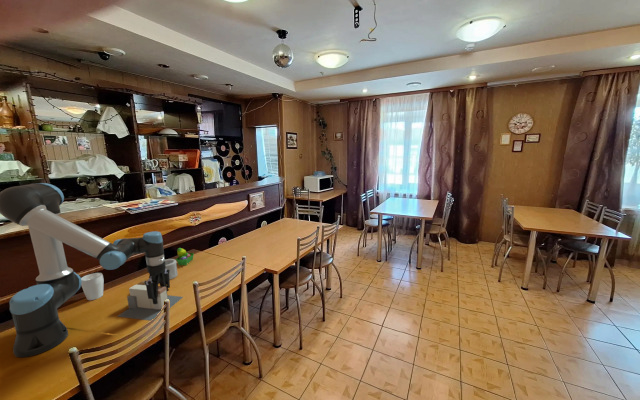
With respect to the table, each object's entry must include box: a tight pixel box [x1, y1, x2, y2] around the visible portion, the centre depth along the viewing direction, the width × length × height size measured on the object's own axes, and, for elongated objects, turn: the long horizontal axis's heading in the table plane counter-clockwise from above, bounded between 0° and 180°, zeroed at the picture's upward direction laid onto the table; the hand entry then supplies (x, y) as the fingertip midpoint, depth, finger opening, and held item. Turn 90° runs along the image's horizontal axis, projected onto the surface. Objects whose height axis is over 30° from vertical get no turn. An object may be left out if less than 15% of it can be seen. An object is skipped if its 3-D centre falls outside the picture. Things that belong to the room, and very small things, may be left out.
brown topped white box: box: [150, 285, 168, 309], centre depth 126 cm, size 4×6×10 cm
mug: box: [164, 258, 178, 280], centre depth 157 cm, size 14×11×10 cm
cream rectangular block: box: [126, 283, 151, 309], centre depth 127 cm, size 6×12×10 cm, turn 81°
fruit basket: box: [175, 247, 195, 266], centre depth 178 cm, size 11×9×11 cm
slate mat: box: [116, 294, 184, 322], centre depth 128 cm, size 20×20×1 cm
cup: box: [80, 272, 105, 301], centre depth 135 cm, size 9×9×12 cm
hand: (161, 305), depth 127 cm, fingers closed on brown topped white box, 4 cm apart
